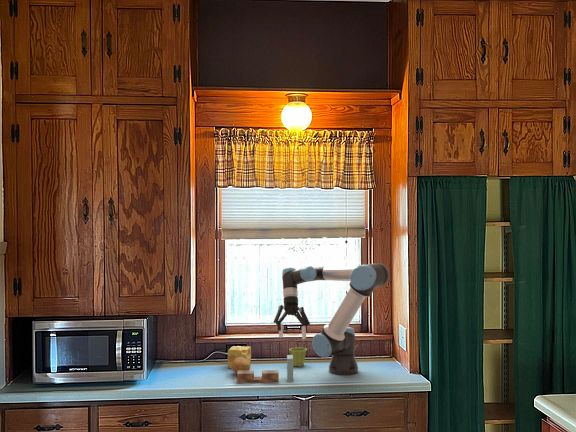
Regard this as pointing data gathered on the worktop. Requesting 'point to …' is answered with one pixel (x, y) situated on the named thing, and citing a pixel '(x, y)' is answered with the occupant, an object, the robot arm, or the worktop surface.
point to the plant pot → (298, 356)
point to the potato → (240, 365)
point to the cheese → (238, 354)
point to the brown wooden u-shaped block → (267, 377)
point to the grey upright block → (290, 367)
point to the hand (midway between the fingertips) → (292, 338)
